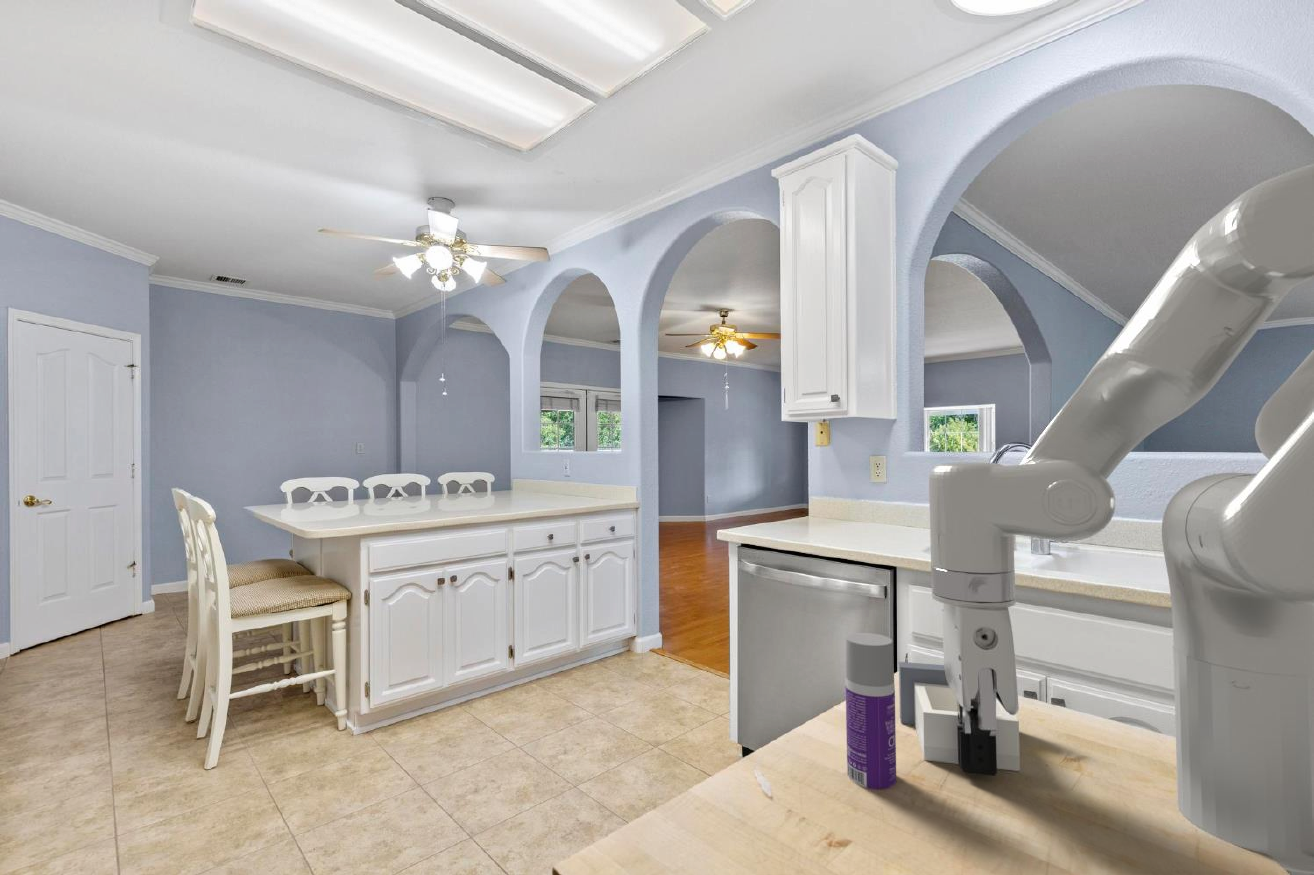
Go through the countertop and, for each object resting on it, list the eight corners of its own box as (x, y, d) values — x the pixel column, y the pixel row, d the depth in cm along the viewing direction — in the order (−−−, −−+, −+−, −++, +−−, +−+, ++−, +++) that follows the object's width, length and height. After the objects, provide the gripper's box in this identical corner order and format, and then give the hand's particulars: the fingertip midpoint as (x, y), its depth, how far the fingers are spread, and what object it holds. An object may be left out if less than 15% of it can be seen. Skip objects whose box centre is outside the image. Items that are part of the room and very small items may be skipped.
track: (1009, 738, 74) (1007, 670, 75) (1063, 831, 56) (1061, 740, 56) (900, 727, 78) (898, 661, 78) (918, 811, 60) (916, 725, 60)
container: (900, 804, 61) (897, 647, 61) (849, 799, 62) (847, 644, 62) (892, 780, 65) (889, 633, 66) (845, 775, 66) (842, 631, 67)
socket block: (998, 733, 73) (997, 689, 73) (1019, 771, 64) (1018, 721, 64) (914, 724, 75) (914, 682, 76) (924, 760, 67) (923, 712, 67)
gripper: (1039, 604, 55) (1045, 817, 55) (993, 573, 70) (998, 741, 69) (946, 600, 57) (951, 806, 57) (920, 570, 72) (924, 735, 71)
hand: (977, 770), depth 63 cm, fingers closed
